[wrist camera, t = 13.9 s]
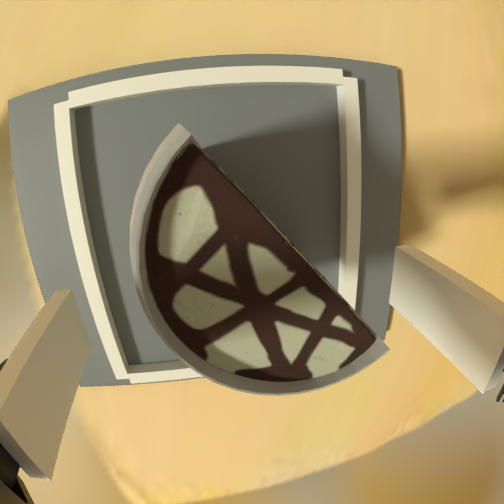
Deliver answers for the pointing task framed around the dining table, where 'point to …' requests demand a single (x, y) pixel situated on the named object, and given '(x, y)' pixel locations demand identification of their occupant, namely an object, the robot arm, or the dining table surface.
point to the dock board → (229, 160)
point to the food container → (236, 283)
